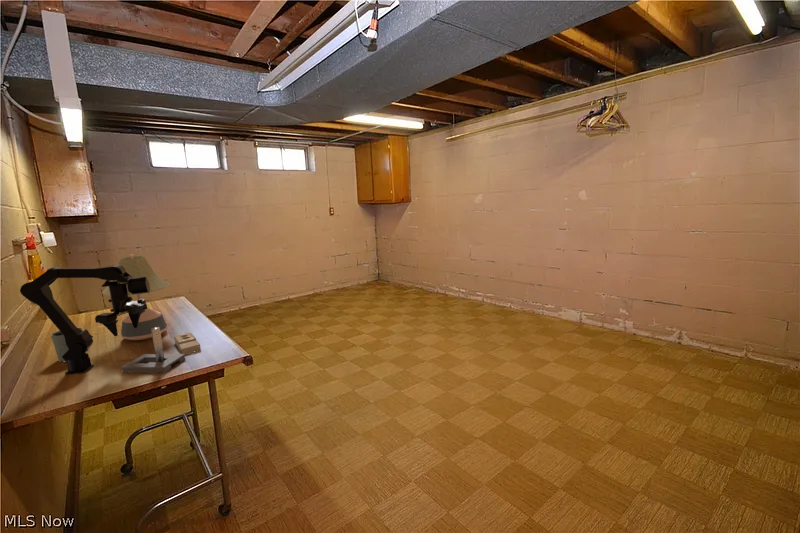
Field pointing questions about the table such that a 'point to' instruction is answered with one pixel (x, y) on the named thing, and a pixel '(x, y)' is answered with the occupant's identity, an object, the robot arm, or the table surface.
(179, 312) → the table surface
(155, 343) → the steel post
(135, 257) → the desk lamp
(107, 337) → the table surface
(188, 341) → the electrical outlet
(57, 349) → the drinking glass
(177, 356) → the keyhole plate
